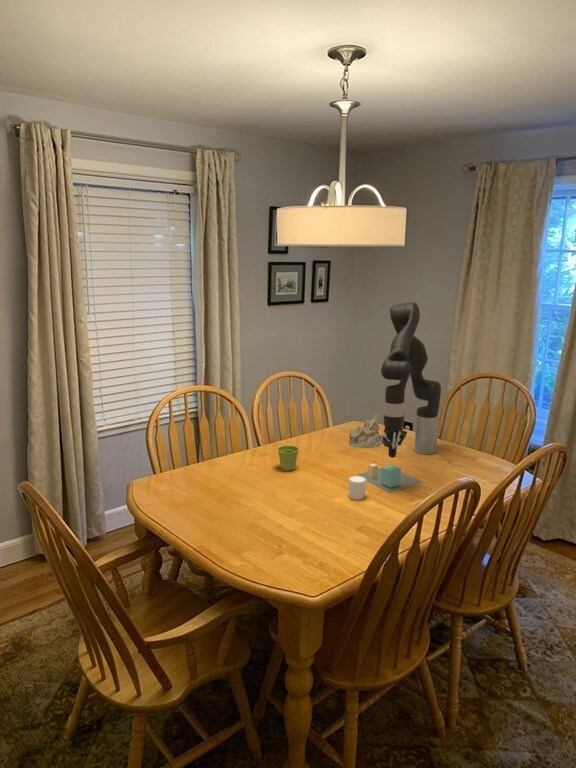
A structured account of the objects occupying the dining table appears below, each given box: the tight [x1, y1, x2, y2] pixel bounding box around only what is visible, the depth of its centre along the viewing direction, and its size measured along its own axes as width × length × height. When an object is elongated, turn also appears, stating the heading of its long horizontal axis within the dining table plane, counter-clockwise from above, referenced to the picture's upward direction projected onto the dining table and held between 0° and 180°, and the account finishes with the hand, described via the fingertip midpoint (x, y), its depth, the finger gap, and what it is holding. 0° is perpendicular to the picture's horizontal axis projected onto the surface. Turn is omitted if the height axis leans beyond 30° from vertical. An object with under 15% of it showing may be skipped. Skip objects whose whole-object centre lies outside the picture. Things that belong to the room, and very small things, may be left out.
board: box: [354, 463, 424, 494], centre depth 222 cm, size 18×20×6 cm
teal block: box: [381, 464, 402, 488], centre depth 216 cm, size 5×5×7 cm
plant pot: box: [276, 444, 300, 472], centre depth 235 cm, size 9×9×9 cm
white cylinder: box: [347, 475, 367, 501], centre depth 208 cm, size 7×7×7 cm
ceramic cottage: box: [348, 414, 383, 449], centre depth 267 cm, size 16×16×15 cm
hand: (392, 456), depth 214 cm, fingers closed
